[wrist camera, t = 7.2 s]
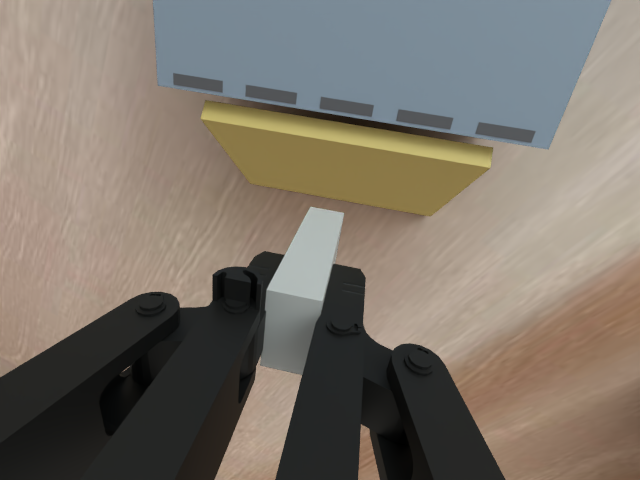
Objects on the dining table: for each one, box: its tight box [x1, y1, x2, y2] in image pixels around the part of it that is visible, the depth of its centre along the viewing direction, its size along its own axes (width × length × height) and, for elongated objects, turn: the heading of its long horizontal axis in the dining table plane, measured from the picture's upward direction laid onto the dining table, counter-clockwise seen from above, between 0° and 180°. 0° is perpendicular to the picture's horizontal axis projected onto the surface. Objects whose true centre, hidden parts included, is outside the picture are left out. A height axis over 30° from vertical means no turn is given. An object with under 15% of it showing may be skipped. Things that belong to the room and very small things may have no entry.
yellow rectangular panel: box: [201, 100, 493, 216], centre depth 21 cm, size 10×14×1 cm
